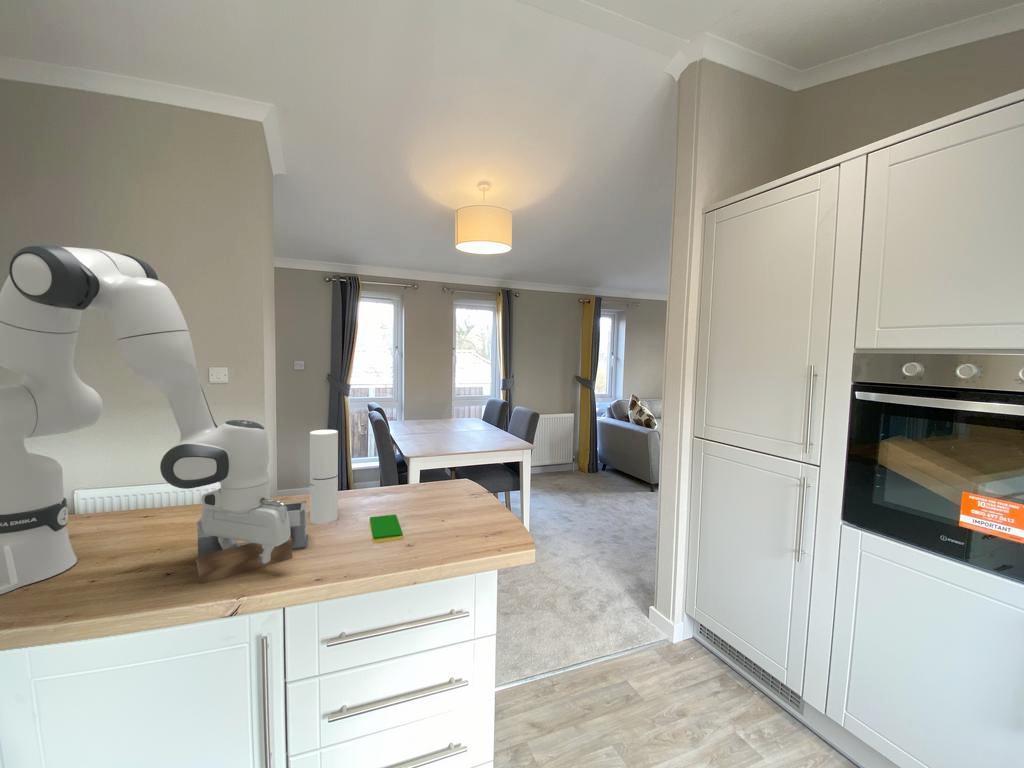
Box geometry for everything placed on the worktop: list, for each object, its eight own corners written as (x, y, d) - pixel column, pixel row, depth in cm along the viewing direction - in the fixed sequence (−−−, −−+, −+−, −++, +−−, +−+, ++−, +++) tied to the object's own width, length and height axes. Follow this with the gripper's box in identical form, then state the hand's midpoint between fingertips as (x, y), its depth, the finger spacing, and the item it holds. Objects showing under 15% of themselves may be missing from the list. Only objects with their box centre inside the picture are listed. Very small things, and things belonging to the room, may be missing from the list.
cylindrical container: (327, 526, 115) (327, 435, 113) (304, 523, 116) (303, 433, 114) (343, 516, 122) (343, 430, 120) (321, 513, 123) (320, 429, 121)
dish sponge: (373, 546, 104) (373, 537, 104) (369, 525, 117) (369, 516, 117) (402, 542, 107) (402, 533, 107) (396, 522, 120) (396, 513, 120)
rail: (199, 586, 84) (199, 562, 84) (197, 579, 87) (196, 556, 86) (292, 560, 96) (291, 539, 95) (287, 555, 98) (287, 534, 98)
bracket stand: (195, 565, 92) (194, 522, 92) (204, 551, 99) (203, 511, 98) (307, 549, 101) (307, 510, 100) (308, 537, 107) (308, 500, 107)
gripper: (297, 496, 90) (297, 559, 91) (222, 486, 96) (223, 545, 97) (273, 506, 84) (274, 573, 85) (194, 495, 90) (196, 558, 91)
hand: (246, 558), depth 91 cm, fingers open, 8 cm apart
